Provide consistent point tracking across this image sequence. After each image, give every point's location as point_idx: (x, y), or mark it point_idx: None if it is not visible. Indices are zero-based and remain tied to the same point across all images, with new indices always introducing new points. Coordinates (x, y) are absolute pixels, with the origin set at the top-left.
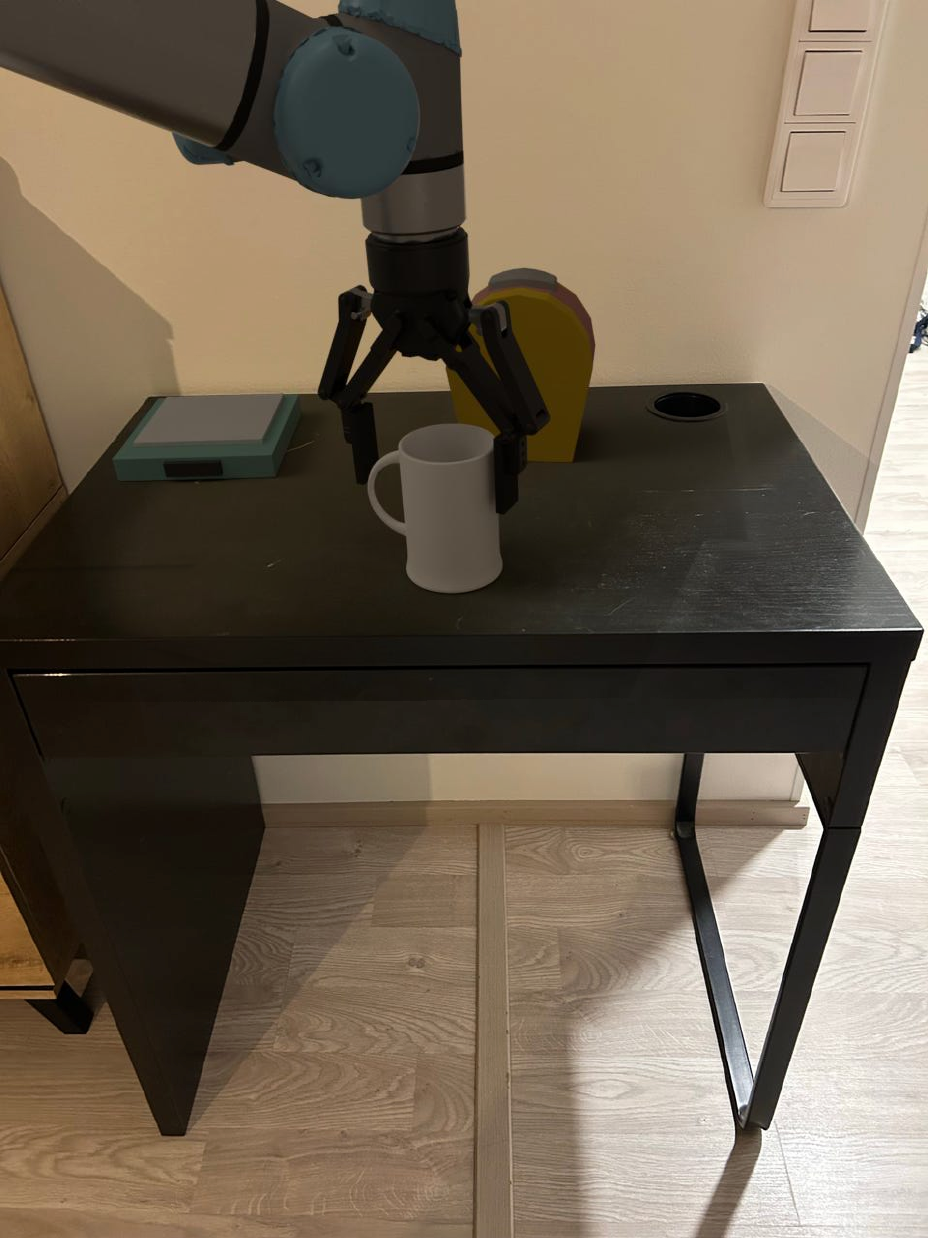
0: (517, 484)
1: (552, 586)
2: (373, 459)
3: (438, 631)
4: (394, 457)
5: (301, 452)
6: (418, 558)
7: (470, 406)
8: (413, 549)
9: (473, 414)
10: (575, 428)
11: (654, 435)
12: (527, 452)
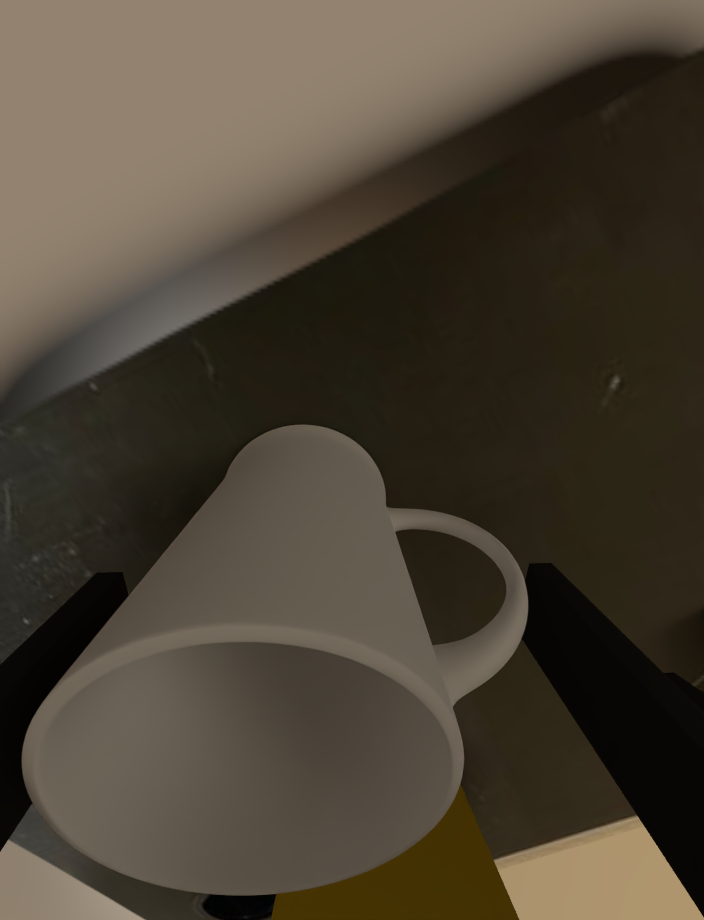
0: None
1: (135, 517)
2: (547, 649)
3: (220, 317)
4: (464, 657)
5: (686, 675)
6: (327, 449)
7: (460, 858)
8: (342, 459)
9: (451, 838)
10: None
11: None
12: None
